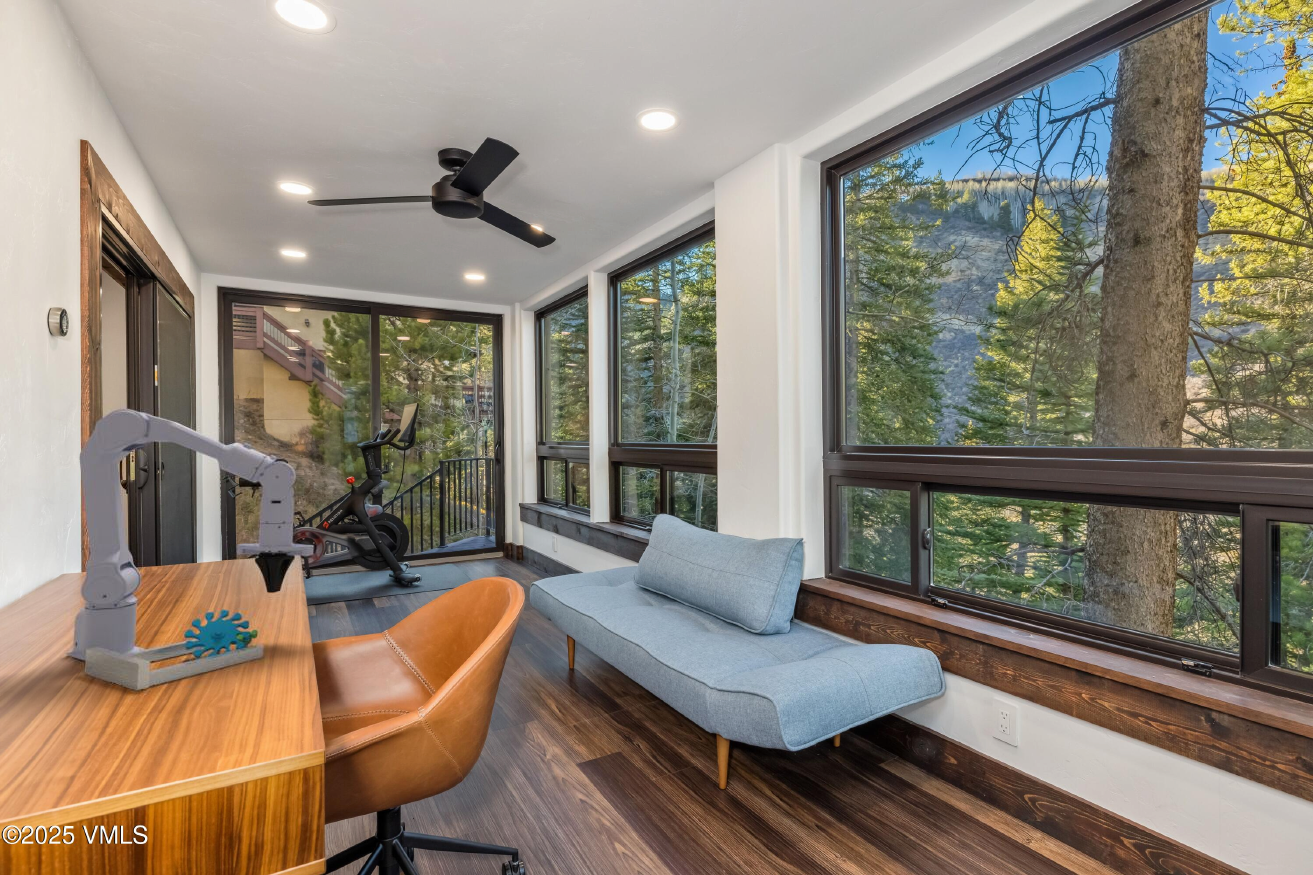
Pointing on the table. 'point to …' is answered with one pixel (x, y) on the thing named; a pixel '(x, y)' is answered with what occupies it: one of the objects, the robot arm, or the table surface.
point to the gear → (219, 634)
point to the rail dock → (136, 665)
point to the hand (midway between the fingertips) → (273, 591)
